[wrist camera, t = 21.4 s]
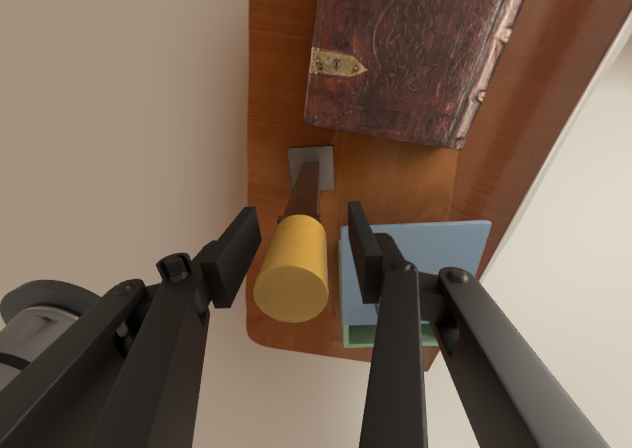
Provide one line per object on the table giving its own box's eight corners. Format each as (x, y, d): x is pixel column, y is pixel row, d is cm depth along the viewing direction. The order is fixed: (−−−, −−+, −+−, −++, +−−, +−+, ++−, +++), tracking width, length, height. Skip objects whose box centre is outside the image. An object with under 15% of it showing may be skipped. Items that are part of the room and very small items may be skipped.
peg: (288, 265, 15) (274, 330, 10) (265, 225, 14) (237, 280, 9) (333, 249, 14) (339, 311, 10) (313, 206, 13) (309, 254, 9)
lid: (341, 321, 33) (344, 345, 30) (340, 226, 26) (343, 242, 23) (457, 318, 32) (474, 342, 29) (487, 219, 26) (513, 236, 22)
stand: (293, 189, 33) (260, 277, 15) (288, 147, 31) (243, 194, 13) (333, 187, 33) (348, 274, 15) (332, 144, 31) (349, 188, 13)
